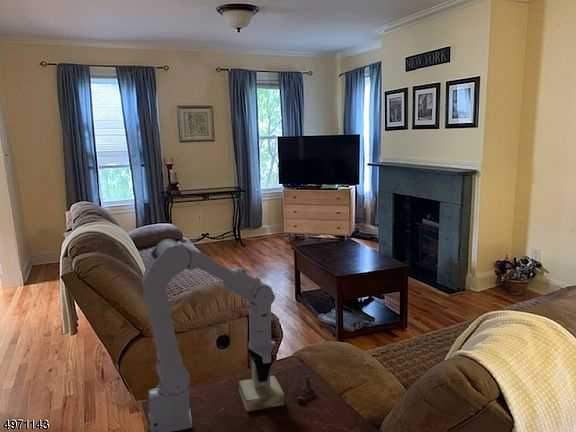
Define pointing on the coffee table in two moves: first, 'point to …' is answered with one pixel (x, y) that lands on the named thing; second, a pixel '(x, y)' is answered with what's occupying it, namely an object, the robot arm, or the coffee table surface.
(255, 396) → the beige flat square block
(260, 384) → the sage block
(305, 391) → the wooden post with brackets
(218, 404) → the coffee table surface
